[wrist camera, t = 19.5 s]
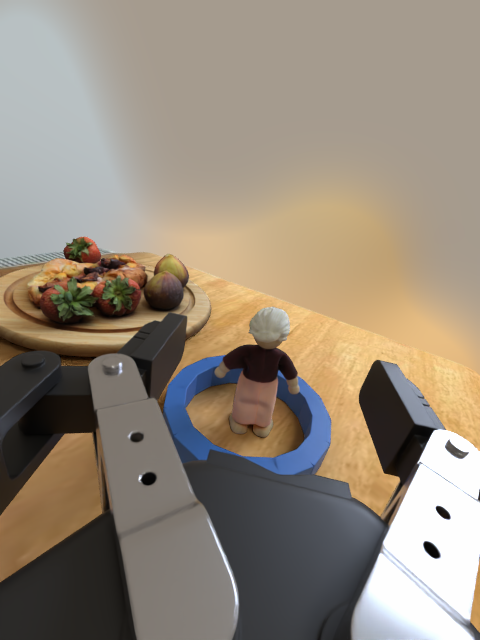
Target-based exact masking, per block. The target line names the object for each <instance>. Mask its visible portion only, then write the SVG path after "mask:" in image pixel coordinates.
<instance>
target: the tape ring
mask: <svg viewBox="0 0 480 640" xmlns="http://www.w3.org/2000/svg"><path fill="white" fill-rule="evenodd" d="M224 356H226V355H223V356H216V357H209V358H205V359H202V360H200V361H198V362H195V363H193V364H191V365H189V366H187V367H185V368H183V369H182V370H181V371H180V372H179V374H178V375H177V376H176V377H175V378H174V379H173V380H172V381H171V382H170V384H169V385H168V388H167V393H166V398H165V403H164V407H163V417H164V420H165V422H166V425H167V427H168V430H169V432H170V435H171V437H172V440H173V442H174V445H175V447H176V450H177V452H178V455H179V457H180V460H181V462H182V463H186V462H190V461H197V460H207V457H208V453H209V450H210V449H212V450H216V451H220V452H224V453H228V454H232V455H236V456H240V457H244V458H246V459H248V460H250V461H252V462H254V463H256V464H258V465H260V466H262V467H264V468H266V469H268V470H270V471H272V472H274V473H276V474H281V475H315V473H316V472H317V470H318V469H319V468H320V466H321V464H322V462H323V460H324V457H325V455H326V453H327V451H328V448H329V446H330V440H331V418H330V416H329V414H328V412H327V410H326V408H325V406H324V404H323V402H322V399H321V398H320V396H319V395H318V394H317V393H316V392H315V391H314V390H313V389H312V388H311V387H310V386H309V385H308V384H307V383H306V382H305V381H304V380H303V379H301V378H300V377H298V376H297V377H298V385H299V387H300V391H299V393H297V394H291V393H290V392H289V390H288V386H289V385H288V384H287V381H286V379H285V377H284V376H283V374H282V373H281V372H280V371H278V375H277V378H278V387H277V394H276V397H278V398H279V399H281V400H282V401H284V402H285V403H286V404H287V405H288V406H289V407H290V409H291V410H292V411H293V412H294V413H295V415H296V416H297V417H298V419H299V422H300V424H301V427H302V430H303V433H304V441H303V443H302V444H301V445H300V446H299V447H298V448H297V449H296V450H293V451H291V452H288V453H285V454H282V455H279V456H277V457H274V458H267V457H245V456H241V455H238V454H236V453H233V452H231V451H228V450H226V449H223V448H221V447H218V446H216V445H213V444H212V443H211V442H210V441H209V440H208V439H207V438H206V437H204V436H203V435H202V434H201V433H200V432H199V431H198V430H197V429H196V428H194V427H193V425H192V423H191V420H190V418H189V416H188V413H187V411H186V409H185V408H186V407H187V405H188V404H189V402H190V401H191V400H192V398H193V397H194V396H195V395H196V394H198V393H200V392H201V391H203V390H205V389H207V388H208V387H210V386H216V385H221V384H226V383H236V384H237V383H238V380H239V376H240V374H241V372H242V370H243V369H232V370H230V371H229V372H227V373H226V375H225V377H223V378H218V377H217V376H216V375H215V369H216V368H217V367H219V365H220V363H221V362H222V361H223V357H224Z"/></svg>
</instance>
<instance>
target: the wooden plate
mask: <svg viewBox="0 0 480 640" xmlns="http://www.w3.org/2000/svg"><path fill="white" fill-rule="evenodd" d="M64 255H65V258H66V259H59V258H56V259H54V260H51V261H49V262H47V263H46V264H44V265H39V266H34V267H29V268H25V269H21V270H18V271H15V272H12V273H10V274H7V275H5V276H3V277H1V278H0V337H2V338H4V339H6V340H8V341H10V342H12V343H14V344H17V345H20V346H23V347H26V348H30V349H34V350H38V351H50V352H53V353H56V354H61V355H70V356H86V357H99V356H102V355H105V354H113V353H115V354H116V353H117V352H118V351H119V350H120V349H121V348H122V347H123V346H124V345H125V344H126V343H127V342H128V341H129V340H130V339H131V338H132V337H133V336H134V335H135V334H136V333H137V332H138V331H139V330H140V329H141V328H142V327H143V326H144V325H145V324H147V323H149V322H152V321H154V320H156V321H160V322H161V321H162V320H163V319H164V317H165V316H166V315H167V314H168V313H169V312H172V313H176V314H180V315H185V316H187V328H186V337H185V340H186V339H187V338H189V337H191V336H192V335H194V334H195V333H197V332H198V331H199V330H200V329H202V328H203V326H204V325H205V324H206V323H207V321H208V319H209V317H210V314H211V303H210V300H209V298H208V296H207V294H206V293H205V292H204V291H203V290H202V289H201V288H200V287H199V286H198V285H196V284H195V283H194V282H192V281H190V280H189V274H188V271H187V269H186V267H185V266H184V264H183V263H182V262H181V261H180V260H179V259H177V258H176V257H174V256H173V255H170V254H167V255H165V256H164V257H163V258H162V259H161V260H160V261H159V262H158V263H157V265H156V267H150V266H146V265H142V264H139V263H136V262H135V261H134V259H132V258H131V257H129V256H126V255H122V256H120V257H118V255H114V256H112V257H109V258H107V259H104V258H102V259H101V254H100V251H99V249H98V248H97V246H96V244H95V242H94V241H93V240H91V239H89V238H87V237H79V238H77V239H73V242H72V243H71V244H69V243H67V246H66V247H65V248H64ZM100 259H101V261H100Z"/></svg>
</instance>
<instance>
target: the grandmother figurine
mask: <svg viewBox="0 0 480 640" xmlns="http://www.w3.org/2000/svg"><path fill="white" fill-rule="evenodd" d="M289 323H290V322H289V317H288V315H287V314H286V312H285V311H283V310H281V309H278V308H275V307H268V308H264V309H261V310H260V311H259V312H257V314H256V315H255V316H254V317H253V318H252V320H251V321H250V325H249V326H250V330H249V331H250V332H249V333H250V334H252V335H253V336H254V339H255V341H256V343H257V344H258V345H243V346H240V347H238V348H236V349H234V350H233V351H231V352H230V353H228V354H227V355H226V356H224V357H223V361H222V362H221V363H220V365H219V367H217V368H216V369H215V375H216V376H217V377H218V378H223V377H225V375H226V373H227V372H229V371H230V370H232V369H243V370H242V372H241V374H240V376H239V380H238V383H237V388H236V392H235V396H234V403H233V411H232V413H231V414H230V416H229V420H230V426H231V430H232V431H233V432H234V433H237V434H244V433H246V431H247V428H248V424H253V432H254V433H255V434H256V435H257V436H260V437H267V436H268V434H269V433H270V431H271V429H272V427H273V421H272V419H271V418H272V414H273V411H274V405H275V400H276V394H277V387H278V378H277V375H278V371H280V372H281V373H282V374H283V376H284V377H285V379H286V381H287V384H288V385H289V386H288V390H289V392H290V393H291V394H297V393H299V391H300V387H299V385H298V377H297V371H296V369H295V367H294V365H293V362H292V361H291V359H290V358H289V356H288V355H287V354H286V353H285V352H283V351H281V350H280V349H278V348H276V347H277V346H279V345H280V344H281V343H282V341H285V340H286V339H287V335H288V334H289V331H290V328H289V327H290V324H289Z"/></svg>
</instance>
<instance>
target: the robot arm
mask: <svg viewBox="0 0 480 640" xmlns="http://www.w3.org/2000/svg"><path fill="white" fill-rule="evenodd" d="M186 328H187V316H185V315H180V314H176V313H172V312H169V313H168V314H167V315H166V316H165V317H164V319H163V320H162V321H161V322H160V321H156V320H154V321H152V322H149V323H147V324H145V325H144V326H143V327H142V328H141V329H140V330H139V331H138V332H137V333H136V334H135V335H134V336H133V337H132V338H131V339H130V340H129V341H128V342H127V343H126V344H125V345H124V346H123V347H122V348H121V349H120V350H119V351H118V352H117V353H116V354H115V353H113V354H105V355H102V356H99V357H97V358H95V359H94V360H92V361H91V362H90V364H89V366H61V359H60V357H59V356H58V355H57V354H56V353H53V352H50V351H31V352H26V353H22V354H20V355H17V356H15V357H13V358H12V359H10V360H9V361H7V362H6V363H4V364H3V365H2V366H0V515H1V514H2V513H3V511H4V510H5V509H6V507H7V506H8V505H9V504H10V502H11V501H12V500H13V499H14V497H15V496H16V495H17V493H18V492H19V491H20V490H21V488H22V487H23V486H24V485H25V483H26V482H27V481H28V479H29V478H30V477H31V476H32V474H33V473H34V472H35V471H36V469H37V468H38V467H39V465H40V464H41V463H42V462H43V460H44V459H45V458H46V457H47V455H48V454H49V453H50V451H51V450H52V449H53V448H54V446H55V445H56V444H57V443H58V441H59V440H60V439H61V437H62V436H63V435H64V434H66V433H92V437H93V444H94V451H95V458H96V466H97V473H98V480H99V490H100V500H101V509H102V514H101V515H100V516H98V517H97V518H95V519H94V520H92V521H91V522H89V523H88V524H86V525H85V526H83V527H82V528H80V529H79V530H77V531H76V532H74V533H73V534H71V535H70V536H68V537H67V538H65V539H64V540H62V541H61V542H59V543H58V544H57V545H55V546H54V547H52V548H51V549H49V550H48V551H46V552H45V553H43V554H42V555H40V556H39V557H37V558H36V559H34V560H33V561H31V562H30V563H28V564H27V565H25V566H24V567H22V568H21V569H19V570H18V571H16V572H15V573H13V574H12V575H11V576H9V577H8V578H6V579H5V580H3V581H2V582H0V640H480V633H479V632H478V631H477V629H476V628H475V627H474V626H473V625H472V623H471V622H470V615H471V608H472V602H473V595H474V589H475V582H476V576H477V569H478V563H479V559H480V452H479V451H478V450H477V449H476V448H475V447H474V446H473V445H472V444H471V443H470V442H468V441H467V440H465V439H464V438H462V437H461V436H459V435H457V434H455V433H452V432H450V431H446V429H445V428H444V426H443V425H442V423H441V422H440V420H439V419H438V417H437V416H436V414H435V413H434V411H433V410H432V408H431V407H429V406H430V405H429V404H428V402H427V401H426V399H424V396H423V395H422V393H421V392H420V390H419V389H418V388H417V387H416V386H415V385H414V384H413V383H412V382H411V381H409V380H408V379H406V378H405V376H404V374H403V373H402V371H401V370H400V368H399V367H398V365H397V364H393V363H389V362H385V361H380V360H376V361H375V362H374V363H373V364H372V366H371V368H370V371H369V373H368V375H367V377H366V379H365V381H364V383H363V385H362V387H361V390H360V394H359V404H360V407H361V409H362V412H363V415H364V418H365V421H366V424H367V426H368V429H369V432H370V435H371V438H372V440H373V443H374V446H375V449H376V452H377V455H378V457H379V460H380V463H381V466H382V469H383V472H384V473H385V474H390V475H394V476H398V477H399V478H400V482H399V483H398V485H397V486H396V488H395V490H394V492H393V494H392V496H391V497H390V499H389V501H388V503H387V505H386V507H385V509H384V511H383V513H382V514H381V516H378V515H377V514H376V513H375V512H374V511H373V510H371V509H370V508H369V507H367V506H366V505H365V504H363V503H361V502H360V501H358V500H357V499H355V498H353V497H351V493H350V489H349V484H348V483H346V482H342V481H338V480H334V479H330V478H326V477H321V476H317V475H281V474H276V473H274V472H272V471H270V470H268V469H266V468H264V467H262V466H260V465H258V464H256V463H254V462H252V461H250V460H248V459H246V458H244V457H240V456H236V455H232V454H228V453H224V452H220V451H216V450H212V449H210V450H209V453H208V457H207V460H197V461H190V462H186V463H182V462H181V460H180V457H179V455H178V452H177V450H176V447H175V445H174V442H173V440H172V437H171V435H170V432H169V430H168V427H167V425H166V422H165V420H164V417H163V415H162V412H161V410H160V407H159V405H158V402H157V400H158V399H159V397H160V395H161V394H162V392H163V390H164V388H165V387H166V385H167V383H168V381H169V380H170V378H171V376H172V375H173V373H174V371H175V369H176V368H177V366H178V364H179V362H180V361H181V358H182V355H183V352H184V346H185V337H186Z"/></svg>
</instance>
